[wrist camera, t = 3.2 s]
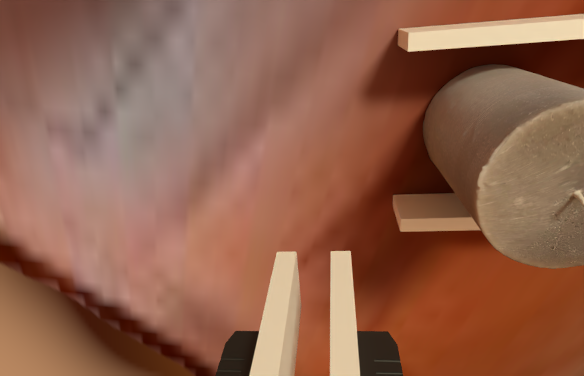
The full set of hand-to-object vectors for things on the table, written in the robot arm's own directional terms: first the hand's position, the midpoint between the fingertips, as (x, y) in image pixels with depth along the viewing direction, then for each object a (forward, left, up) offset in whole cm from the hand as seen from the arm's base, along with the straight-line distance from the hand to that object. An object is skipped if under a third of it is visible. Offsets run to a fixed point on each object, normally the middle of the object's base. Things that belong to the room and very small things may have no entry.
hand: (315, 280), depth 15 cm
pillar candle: (+13, 0, -21) cm, 24 cm away
